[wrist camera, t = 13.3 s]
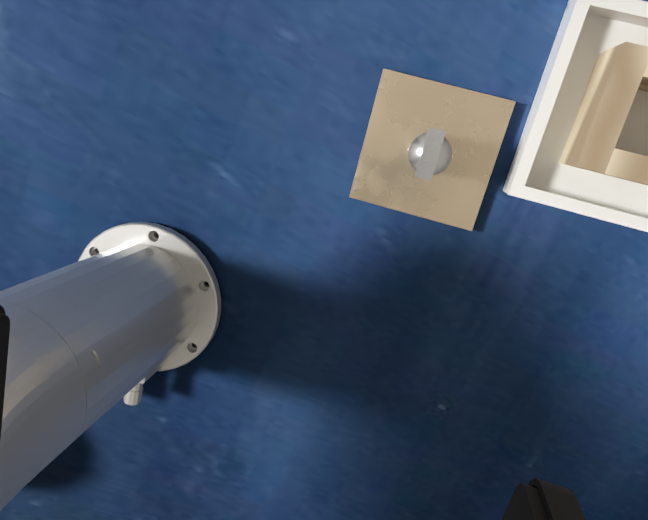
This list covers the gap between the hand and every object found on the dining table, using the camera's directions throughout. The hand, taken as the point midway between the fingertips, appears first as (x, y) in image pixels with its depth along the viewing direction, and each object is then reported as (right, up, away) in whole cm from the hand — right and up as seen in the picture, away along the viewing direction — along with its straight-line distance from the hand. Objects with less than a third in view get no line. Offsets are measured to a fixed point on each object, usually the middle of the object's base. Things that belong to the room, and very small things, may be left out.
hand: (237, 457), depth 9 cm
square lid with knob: (+9, +11, +27) cm, 31 cm away
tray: (+22, +12, +25) cm, 35 cm away
